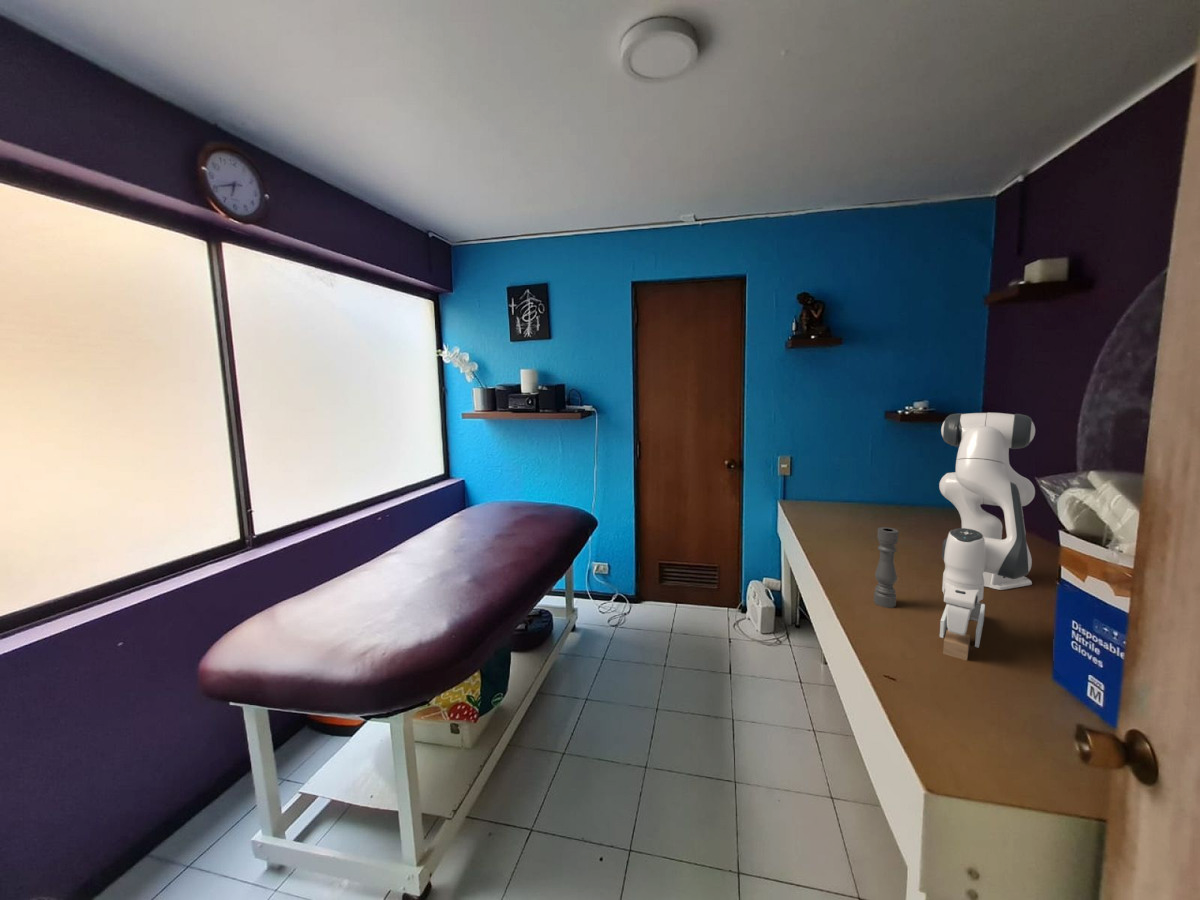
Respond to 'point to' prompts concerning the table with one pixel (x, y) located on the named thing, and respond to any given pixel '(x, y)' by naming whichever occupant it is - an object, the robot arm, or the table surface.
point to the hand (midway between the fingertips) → (959, 635)
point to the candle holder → (886, 568)
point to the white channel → (976, 615)
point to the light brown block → (956, 645)
